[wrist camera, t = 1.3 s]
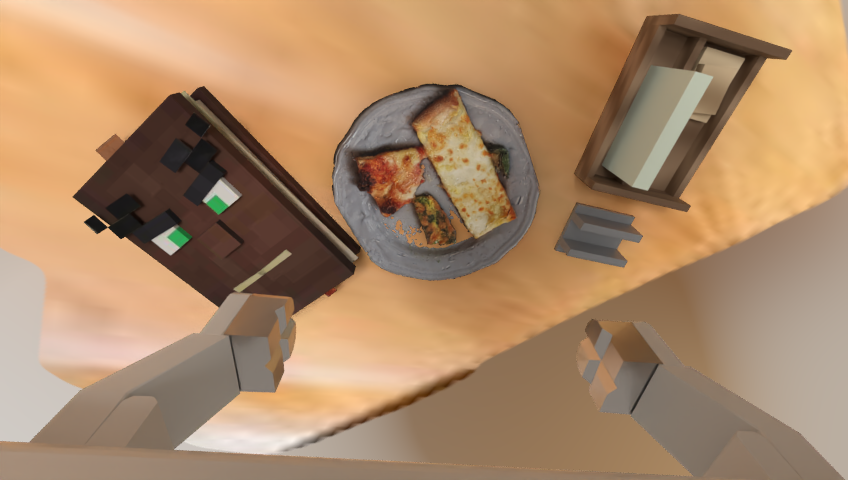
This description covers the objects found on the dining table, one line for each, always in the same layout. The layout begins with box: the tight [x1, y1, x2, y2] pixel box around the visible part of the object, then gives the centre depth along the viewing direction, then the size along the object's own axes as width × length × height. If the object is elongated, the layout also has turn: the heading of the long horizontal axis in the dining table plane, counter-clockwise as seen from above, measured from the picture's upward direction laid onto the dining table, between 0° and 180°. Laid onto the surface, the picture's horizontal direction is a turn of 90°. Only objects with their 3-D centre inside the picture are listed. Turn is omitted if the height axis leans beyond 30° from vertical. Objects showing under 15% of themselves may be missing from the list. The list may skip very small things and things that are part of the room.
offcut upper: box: [693, 64, 737, 115], centre depth 38 cm, size 4×3×1 cm
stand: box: [554, 203, 643, 267], centre depth 48 cm, size 7×8×4 cm
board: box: [602, 65, 713, 191], centre depth 38 cm, size 11×2×7 cm, turn 166°
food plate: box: [332, 84, 540, 281], centre depth 45 cm, size 25×23×4 cm
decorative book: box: [73, 86, 361, 315], centre depth 44 cm, size 19×8×30 cm
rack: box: [574, 14, 792, 212], centre depth 40 cm, size 17×12×5 cm
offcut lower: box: [690, 47, 745, 123], centre depth 39 cm, size 6×4×1 cm
